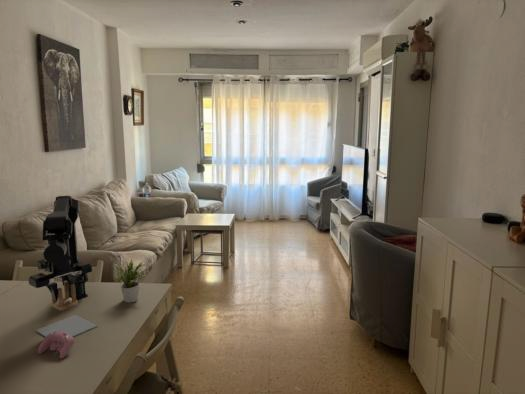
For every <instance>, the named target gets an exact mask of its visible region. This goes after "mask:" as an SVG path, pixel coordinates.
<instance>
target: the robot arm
mask: <svg viewBox="0 0 525 394" xmlns="http://www.w3.org/2000/svg"><path fill="white" fill-rule="evenodd" d="M79 213H81V206H80V203H79V200H77V199H75V198H73V197H72V196H71V195H58V196H56V197H55V200H54V201H53V210H52V212H51V213H48V214H47V215H46V216H45V219H44V220H43V221H42V222H43V223H42V241H43V242H45V241H47V246H46V247H45V249H44V251H43V255H42V256H43V257H44V259H40V260H37V261H36V266H37V269H38V271H42V270H43V272H48V273H49V274H45V273H43V272H39V273H36V274H32V275H30V276H29V278H28V285H29V286H32V287H34V288H36V289H40V288H44V287H46V288H47V289H48V290H49V292H50V294H52V295H51V297H52V296H53V298H54V300H55V301H58V288H59V287H58V282H55V279H59V278H61V281H62V282H61V283H62V286H63V287H64V281H68V286H69V297H70V298H72V296H71V285H70V284H75V290H76V300H77V301H79V299H82V298H83V299H84V298H86V297H88V295H89V294H88V293H86V292H87V291H86V284H87V282H89V275H88V273H92V272H93V266H92V264H91V263H89V262H86V261H83V260H82V261H81V259H80V258H79V252H78V241H77V240H78V239H77V229H76V221H77V220H78V218H79V217H80V216H79V215H80V214H79Z"/></svg>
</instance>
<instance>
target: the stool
mask: <svg viewBox="0 0 525 394" xmlns="http://www.w3.org/2000/svg"><path fill="white" fill-rule="evenodd" d="M70 285H71V296H72V298H70V297H69V286H68V281H64V286H63V288H62V287H57V288H58V301H55V300H54V298H53V296H52V294H51V293H50V294H51V302H50V305H51V307H52V308H54V309H57V310H58V311H59V312H60V311H64V310H66V309H69V308H72V307H74V306H76V305H79V300H76V290H75V284H70ZM63 289H64V294H63ZM63 295H64V296H63Z"/></svg>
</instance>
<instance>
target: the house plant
mask: <svg viewBox="0 0 525 394" xmlns="http://www.w3.org/2000/svg"><path fill="white" fill-rule="evenodd" d="M124 261H125V264H126V268H127V269H123V268H122V267H121V265H118V264H117V263H114V266H116V267H117V268H118V269H115V268H114V270H115V271H116V272H118V273H119V274H120V276H119V275H118V276H116V277H117V278H115V279H114V281H122V284H121V285H120V288H121V293H122V298H123V300H124V302H125V303H134V302H136V301H138V299H139V292H140V291H139V290H140V282H138V281H139V280H140V279H141V278H142V277H145V274H141V273H140V272H141V271H142V270H144V269H143V268H141V267H144V266H148V265H149V264H147V263H146V264H145V263H144V262H145V260H143V261H141V262H140V263H138V265H136V266H134V263H133V259H132V258H131V259H130V261H129V264H128V262H127V261H126V260H124ZM140 268H141V269H140ZM136 279H137V281H136Z"/></svg>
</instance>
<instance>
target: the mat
mask: <svg viewBox="0 0 525 394" xmlns="http://www.w3.org/2000/svg"><path fill="white" fill-rule="evenodd" d="M95 328H98V325H97V324H95V323H93V322H91V321H89V320H87V319H85V318H83V317H81V316H79V315H78V314H74V315H72V316H69V317H66V318H64V319H61V320H59V321H57V322H56V321H55V322H54V323H51V324H48V325H46V326H44V327H41V328H38V329H36V330H35V332H36V333H38V334H40V335H41V336H42V337H44V338H45V337H46V336H47V335H48V334H49V333H51V332H65V333H67V334H69V335H70V336H72V337H73V338H75V337H77V336H79V335H82V334H83V333H86V332H89V331H91V330H93V329H95ZM58 344H61V343H60V342H58Z"/></svg>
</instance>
